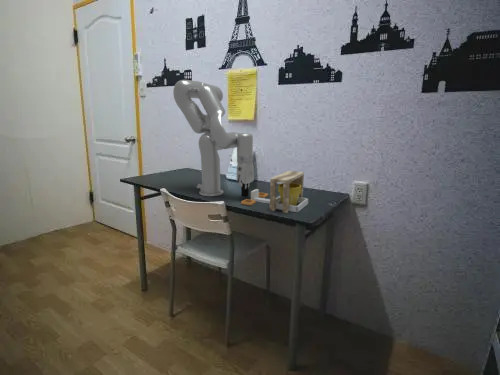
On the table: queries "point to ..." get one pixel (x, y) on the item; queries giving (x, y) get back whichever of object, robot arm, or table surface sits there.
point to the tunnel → (285, 187)
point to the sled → (292, 208)
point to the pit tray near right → (248, 202)
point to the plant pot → (291, 193)
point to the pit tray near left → (263, 195)
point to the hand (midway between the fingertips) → (245, 196)
